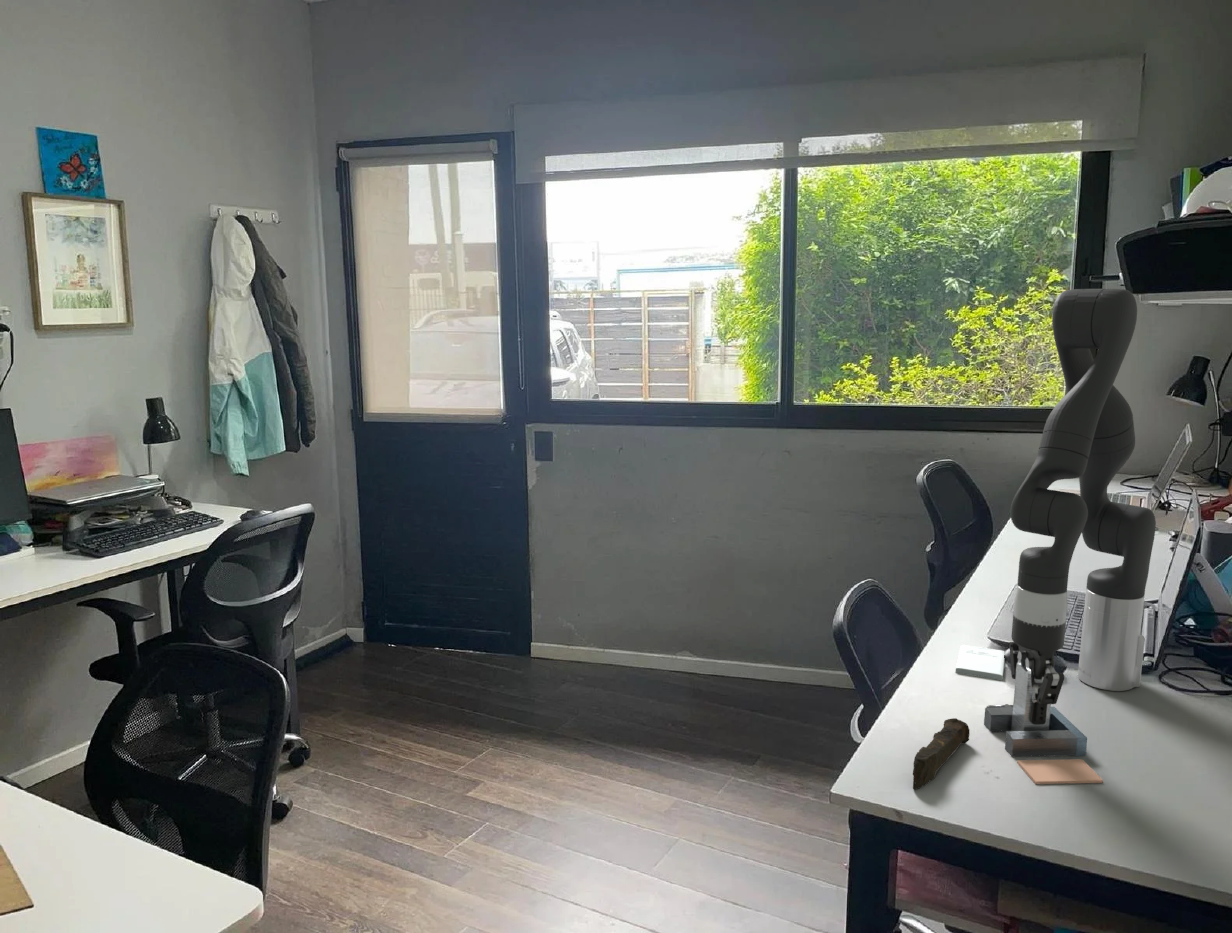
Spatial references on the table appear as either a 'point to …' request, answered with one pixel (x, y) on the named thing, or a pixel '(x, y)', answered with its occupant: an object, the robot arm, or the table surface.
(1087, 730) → the table surface
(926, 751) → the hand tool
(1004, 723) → the vise
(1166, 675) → the table surface
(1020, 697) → the steel bar
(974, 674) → the external hard drive
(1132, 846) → the table surface
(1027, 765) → the mat
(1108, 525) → the robot arm
